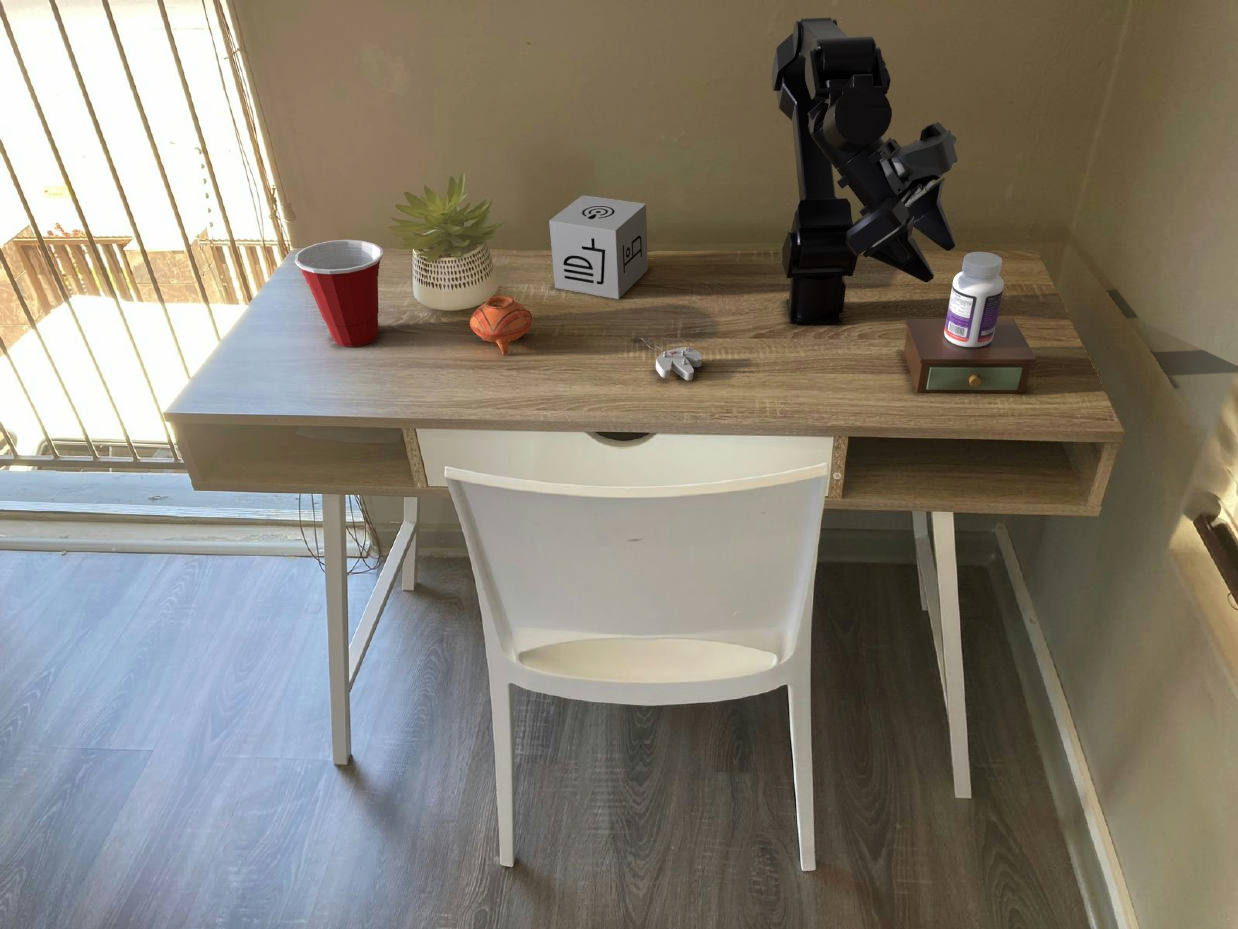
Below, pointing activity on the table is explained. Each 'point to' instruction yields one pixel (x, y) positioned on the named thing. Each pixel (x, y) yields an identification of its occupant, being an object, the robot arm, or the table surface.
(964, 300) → the pill bottle
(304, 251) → the plastic cup
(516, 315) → the pot
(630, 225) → the icon cube
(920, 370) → the cabinet
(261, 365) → the table surface
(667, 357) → the game controller
